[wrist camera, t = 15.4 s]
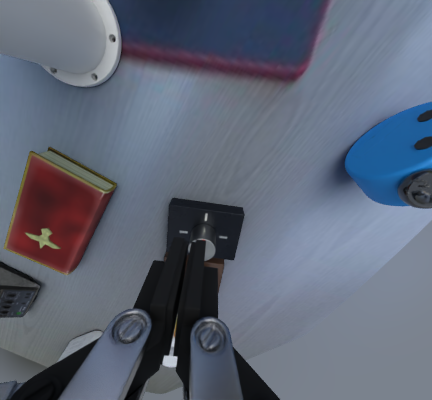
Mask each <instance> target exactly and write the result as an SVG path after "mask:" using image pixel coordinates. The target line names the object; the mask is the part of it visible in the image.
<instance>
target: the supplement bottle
mask: <svg viewBox="0 0 432 400" xmlns="http://www.w3.org/2000/svg"><path fill="white" fill-rule="evenodd" d="M177 315H178V314H177ZM176 324H177V319H176ZM176 324H175V329H174V334H173V339H172V344H171V349H170V354H169V356H166V355H164V359H163V363H162V364H163V365H164V366H167V367H176V365H177V357H176V356H173V353H174V343H175V334H176Z"/></svg>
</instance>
